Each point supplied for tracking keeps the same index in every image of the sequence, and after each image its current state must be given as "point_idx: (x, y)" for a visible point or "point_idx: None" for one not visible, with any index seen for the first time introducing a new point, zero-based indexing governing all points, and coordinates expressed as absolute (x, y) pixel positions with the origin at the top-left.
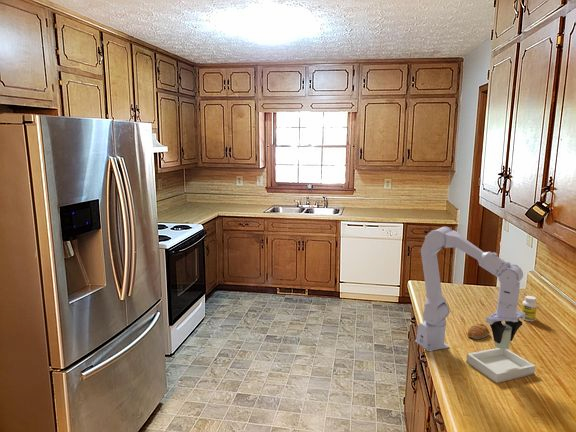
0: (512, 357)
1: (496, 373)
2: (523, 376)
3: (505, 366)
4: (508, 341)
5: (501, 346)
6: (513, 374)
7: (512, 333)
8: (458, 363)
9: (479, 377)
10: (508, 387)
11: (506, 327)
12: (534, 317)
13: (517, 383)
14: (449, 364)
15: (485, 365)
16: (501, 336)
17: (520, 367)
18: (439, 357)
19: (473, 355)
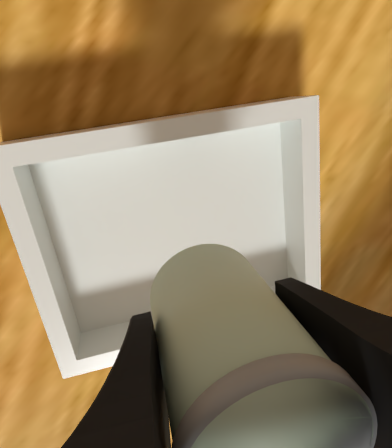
0: (60, 287)
1: (316, 104)
2: (94, 127)
3: (143, 225)
4: (212, 280)
5: (249, 263)
6: (181, 115)
7: (152, 368)
8: (339, 276)
9: (332, 158)
10: (256, 43)
11: (272, 439)
12: None
13: (178, 69)
14: (380, 271)
15: (312, 195)
16: (329, 308)
17: (114, 144)
18: None
19: None
